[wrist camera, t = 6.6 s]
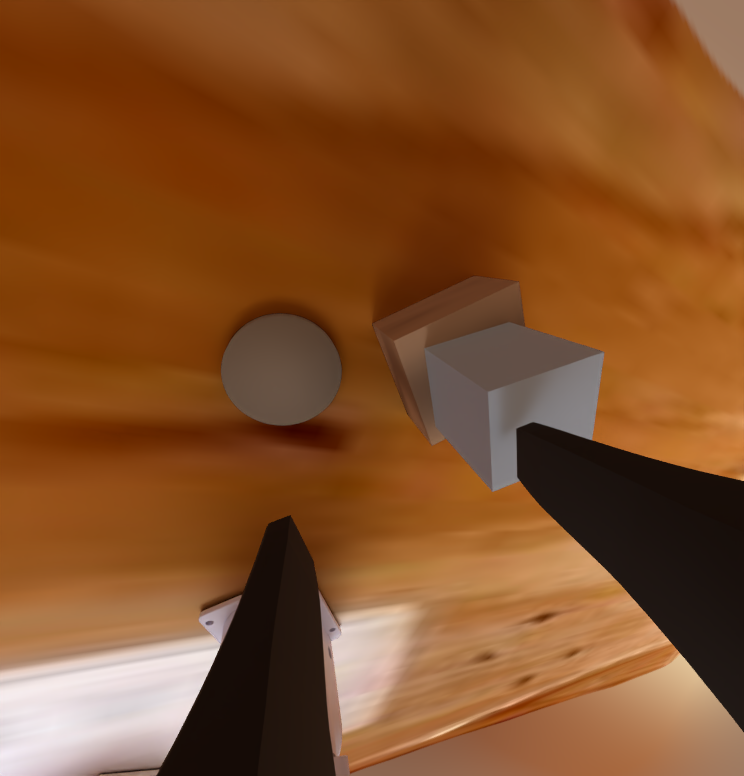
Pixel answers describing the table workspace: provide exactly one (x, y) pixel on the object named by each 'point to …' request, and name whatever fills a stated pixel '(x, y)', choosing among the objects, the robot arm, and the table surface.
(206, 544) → the table surface
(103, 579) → the table surface
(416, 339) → the walnut block
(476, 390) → the gray block
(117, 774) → the light bulb box
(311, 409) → the smooth gray stone
